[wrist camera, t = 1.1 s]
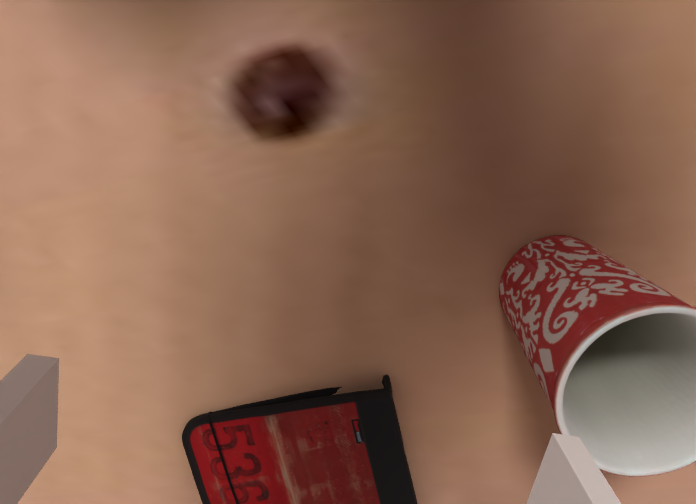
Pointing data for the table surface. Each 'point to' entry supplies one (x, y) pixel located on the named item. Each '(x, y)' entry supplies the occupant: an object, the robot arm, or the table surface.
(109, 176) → the table surface
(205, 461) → the black and red tablet
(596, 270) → the mug
